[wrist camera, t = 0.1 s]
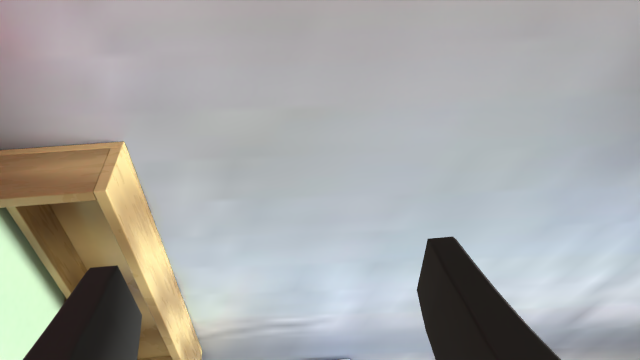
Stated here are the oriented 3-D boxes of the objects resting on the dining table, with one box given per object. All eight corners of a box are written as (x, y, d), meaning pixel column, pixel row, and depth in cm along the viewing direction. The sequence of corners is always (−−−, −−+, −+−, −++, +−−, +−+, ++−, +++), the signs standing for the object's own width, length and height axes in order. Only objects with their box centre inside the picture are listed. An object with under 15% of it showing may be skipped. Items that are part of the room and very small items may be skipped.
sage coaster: (75, 272, 25) (21, 417, 19) (60, 274, 25) (1, 420, 19) (11, 166, 20) (-87, 320, 14) (-8, 167, 20) (-114, 323, 14)
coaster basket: (202, 350, 32) (197, 396, 30) (46, 365, 31) (29, 414, 29) (124, 141, 20) (106, 190, 18) (-133, 158, 19) (-188, 212, 17)
